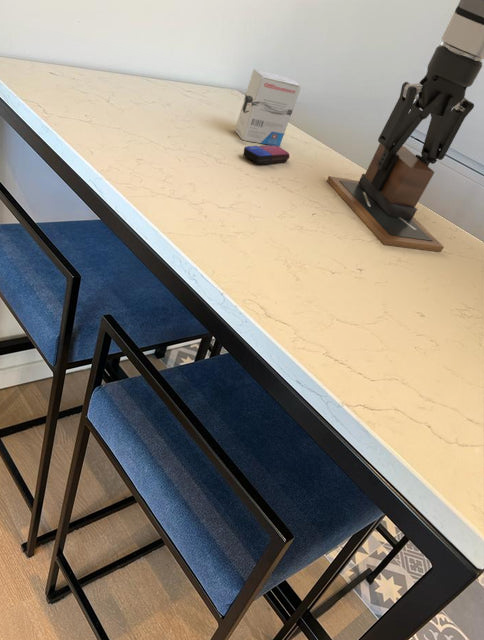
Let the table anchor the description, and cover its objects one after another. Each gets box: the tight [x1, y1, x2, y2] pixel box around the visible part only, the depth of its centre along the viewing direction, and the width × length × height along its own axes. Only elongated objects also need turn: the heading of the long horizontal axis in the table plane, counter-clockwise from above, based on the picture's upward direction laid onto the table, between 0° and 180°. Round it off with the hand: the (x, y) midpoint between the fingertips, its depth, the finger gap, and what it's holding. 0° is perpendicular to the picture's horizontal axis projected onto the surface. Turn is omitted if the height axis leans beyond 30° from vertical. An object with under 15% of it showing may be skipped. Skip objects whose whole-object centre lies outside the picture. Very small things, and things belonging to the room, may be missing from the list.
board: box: [326, 175, 445, 253], centre depth 101 cm, size 22×12×1 cm, turn 17°
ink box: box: [234, 68, 302, 147], centre depth 109 cm, size 8×5×12 cm, turn 108°
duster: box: [358, 143, 435, 219], centre depth 101 cm, size 12×5×8 cm, turn 17°
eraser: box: [243, 144, 290, 165], centre depth 104 cm, size 11×4×2 cm, turn 136°
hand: (390, 189), depth 102 cm, fingers closed on duster, 5 cm apart
